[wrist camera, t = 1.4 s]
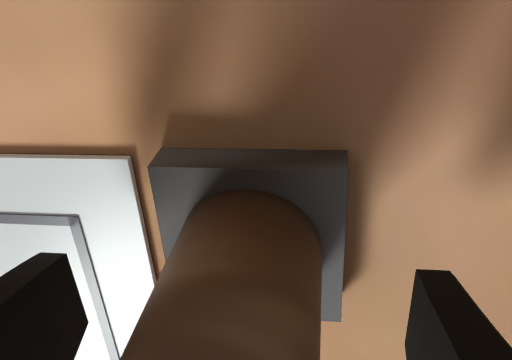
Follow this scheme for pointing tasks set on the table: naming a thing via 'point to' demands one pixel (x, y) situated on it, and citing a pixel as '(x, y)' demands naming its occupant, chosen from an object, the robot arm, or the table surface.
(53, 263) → the robot arm
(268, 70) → the table surface
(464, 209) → the table surface
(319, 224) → the stamp
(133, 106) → the table surface
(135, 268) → the card sheet
